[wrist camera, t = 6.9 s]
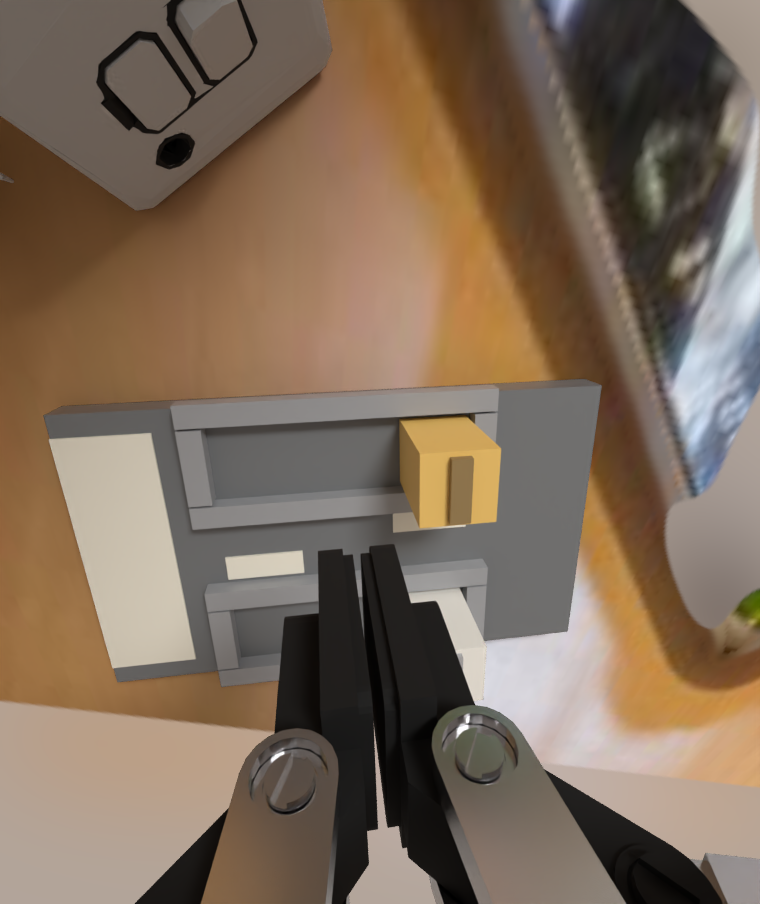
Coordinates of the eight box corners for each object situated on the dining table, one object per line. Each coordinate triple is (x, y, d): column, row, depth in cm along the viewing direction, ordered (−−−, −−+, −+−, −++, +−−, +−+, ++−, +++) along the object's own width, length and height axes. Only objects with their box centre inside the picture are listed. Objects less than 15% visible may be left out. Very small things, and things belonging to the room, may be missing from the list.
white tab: (400, 589, 24) (419, 659, 20) (457, 583, 25) (489, 651, 20) (400, 636, 25) (418, 713, 21) (455, 630, 26) (485, 705, 21)
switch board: (60, 399, 21) (30, 413, 18) (585, 372, 23) (612, 382, 21) (129, 664, 26) (112, 699, 23) (554, 618, 28) (573, 645, 26)
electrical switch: (145, 220, 19) (-36, 128, 10) (46, 93, 17) (-268, -147, 9) (336, 64, 18) (328, -193, 9) (247, -82, 17) (132, -557, 8)
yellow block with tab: (399, 418, 21) (421, 456, 17) (465, 415, 21) (504, 451, 17) (399, 480, 22) (420, 532, 18) (462, 476, 23) (499, 525, 18)
